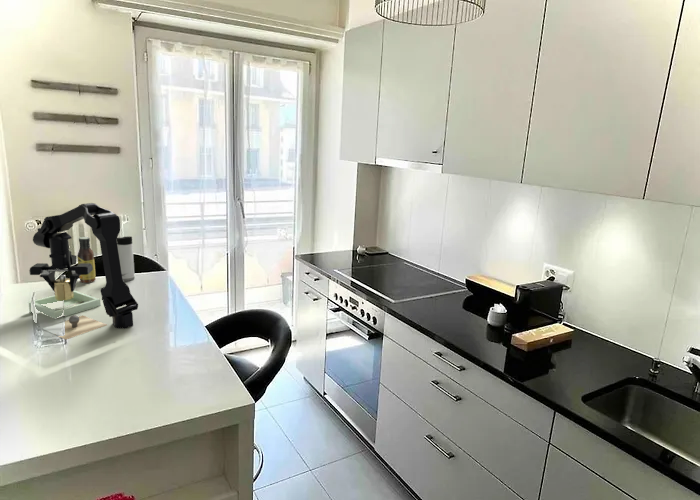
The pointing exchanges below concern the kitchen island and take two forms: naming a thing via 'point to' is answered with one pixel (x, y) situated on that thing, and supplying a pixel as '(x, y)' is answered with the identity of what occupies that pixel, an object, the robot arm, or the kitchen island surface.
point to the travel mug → (126, 257)
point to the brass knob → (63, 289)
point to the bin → (78, 297)
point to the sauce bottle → (86, 259)
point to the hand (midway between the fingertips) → (64, 291)
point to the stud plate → (80, 326)
